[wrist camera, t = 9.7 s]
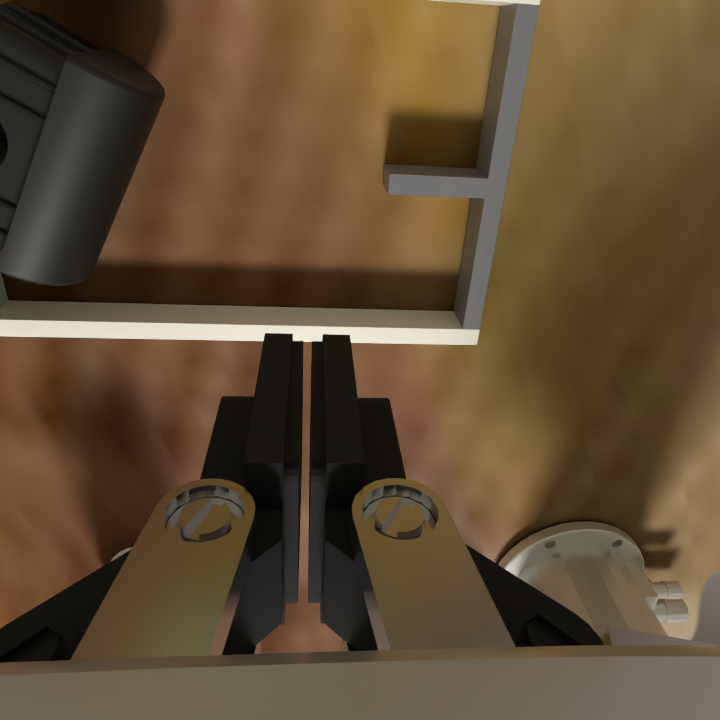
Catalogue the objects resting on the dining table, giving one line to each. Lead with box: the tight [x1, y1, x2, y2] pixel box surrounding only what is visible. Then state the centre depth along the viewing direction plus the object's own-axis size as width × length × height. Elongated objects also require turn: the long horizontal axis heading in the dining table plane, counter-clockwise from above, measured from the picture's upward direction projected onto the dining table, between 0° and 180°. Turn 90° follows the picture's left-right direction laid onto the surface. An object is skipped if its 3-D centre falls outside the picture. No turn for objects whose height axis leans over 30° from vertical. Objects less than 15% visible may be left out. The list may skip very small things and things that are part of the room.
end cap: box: [0, 2, 165, 286], centre depth 26 cm, size 10×7×7 cm
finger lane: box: [0, 0, 540, 345], centre depth 27 cm, size 28×18×6 cm, turn 86°
